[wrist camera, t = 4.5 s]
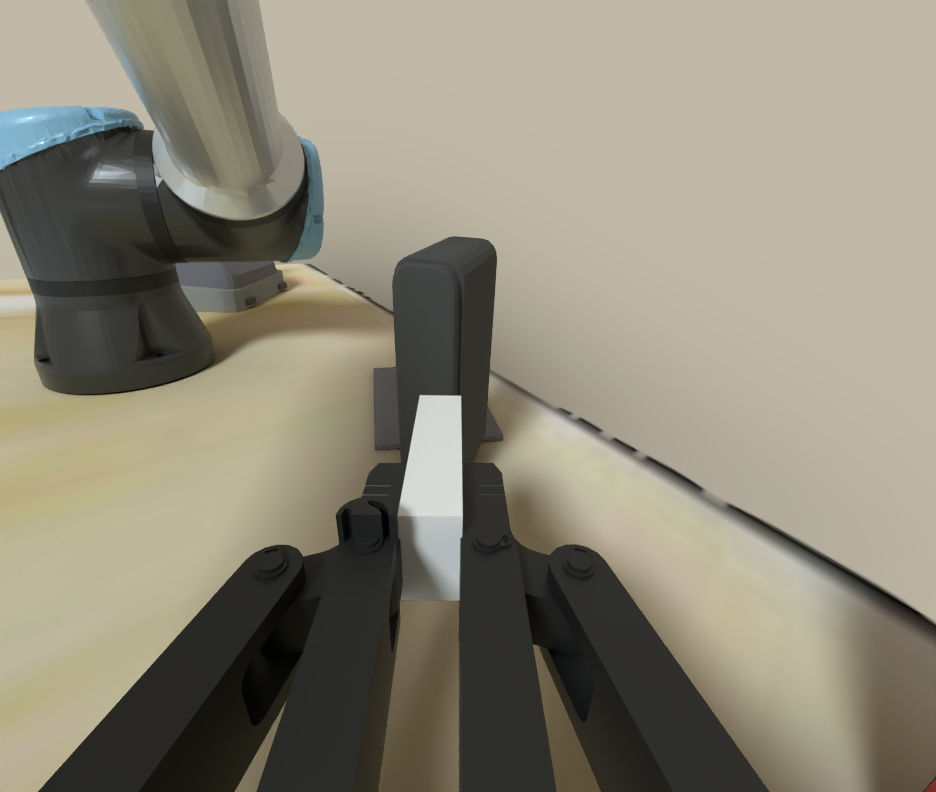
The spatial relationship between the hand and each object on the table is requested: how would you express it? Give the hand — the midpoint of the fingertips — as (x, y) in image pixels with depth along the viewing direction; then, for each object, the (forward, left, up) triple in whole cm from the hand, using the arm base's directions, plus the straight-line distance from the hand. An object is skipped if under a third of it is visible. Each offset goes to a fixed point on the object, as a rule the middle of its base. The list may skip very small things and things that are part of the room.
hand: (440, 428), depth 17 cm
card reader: (-12, +2, -10) cm, 16 cm away
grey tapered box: (-69, -29, -10) cm, 76 cm away
